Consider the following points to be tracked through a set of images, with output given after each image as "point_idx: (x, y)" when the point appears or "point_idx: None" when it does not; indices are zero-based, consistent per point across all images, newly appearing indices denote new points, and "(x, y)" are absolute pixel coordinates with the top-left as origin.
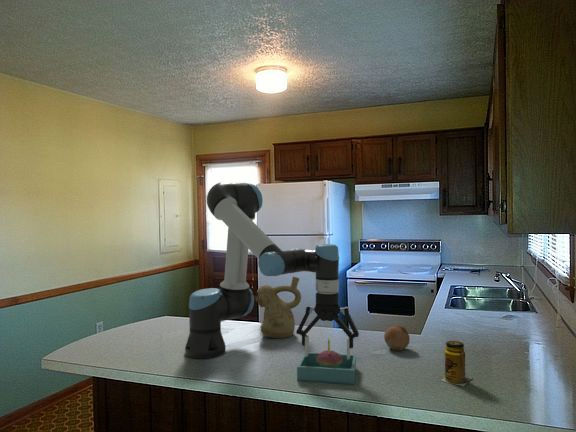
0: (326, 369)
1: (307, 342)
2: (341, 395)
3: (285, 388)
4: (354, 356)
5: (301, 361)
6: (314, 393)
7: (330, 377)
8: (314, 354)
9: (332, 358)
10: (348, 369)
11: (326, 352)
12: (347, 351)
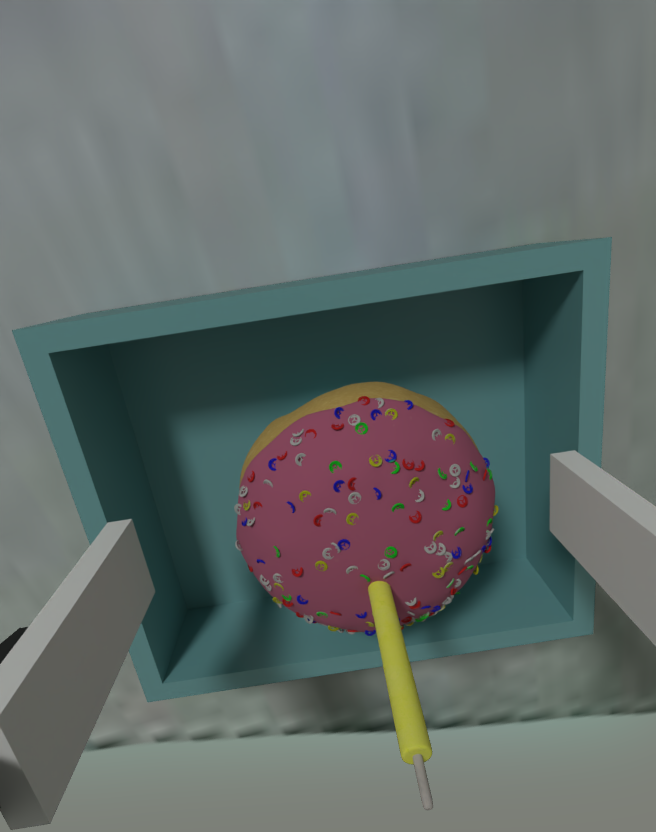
0: (381, 661)
1: (88, 712)
2: (483, 700)
3: (163, 721)
4: (594, 291)
5: None
6: (339, 722)
7: None
8: (143, 337)
9: (423, 615)
10: (554, 631)
11: (348, 581)
12: (602, 580)
